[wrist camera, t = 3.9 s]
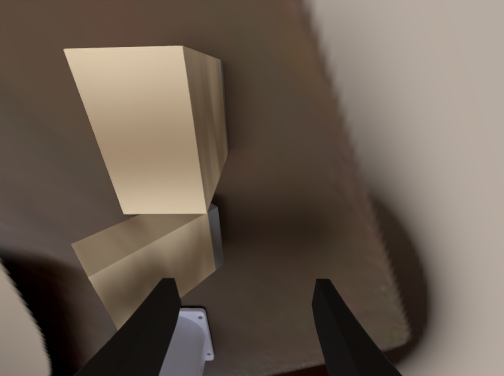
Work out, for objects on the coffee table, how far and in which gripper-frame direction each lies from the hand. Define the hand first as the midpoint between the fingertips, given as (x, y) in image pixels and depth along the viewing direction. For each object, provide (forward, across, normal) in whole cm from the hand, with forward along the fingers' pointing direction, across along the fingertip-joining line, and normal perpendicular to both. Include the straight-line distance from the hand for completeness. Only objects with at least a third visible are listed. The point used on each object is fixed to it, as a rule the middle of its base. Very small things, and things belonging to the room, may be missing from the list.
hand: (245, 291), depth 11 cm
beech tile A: (+5, +3, 0) cm, 6 cm away
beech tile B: (+6, +3, -8) cm, 10 cm away
